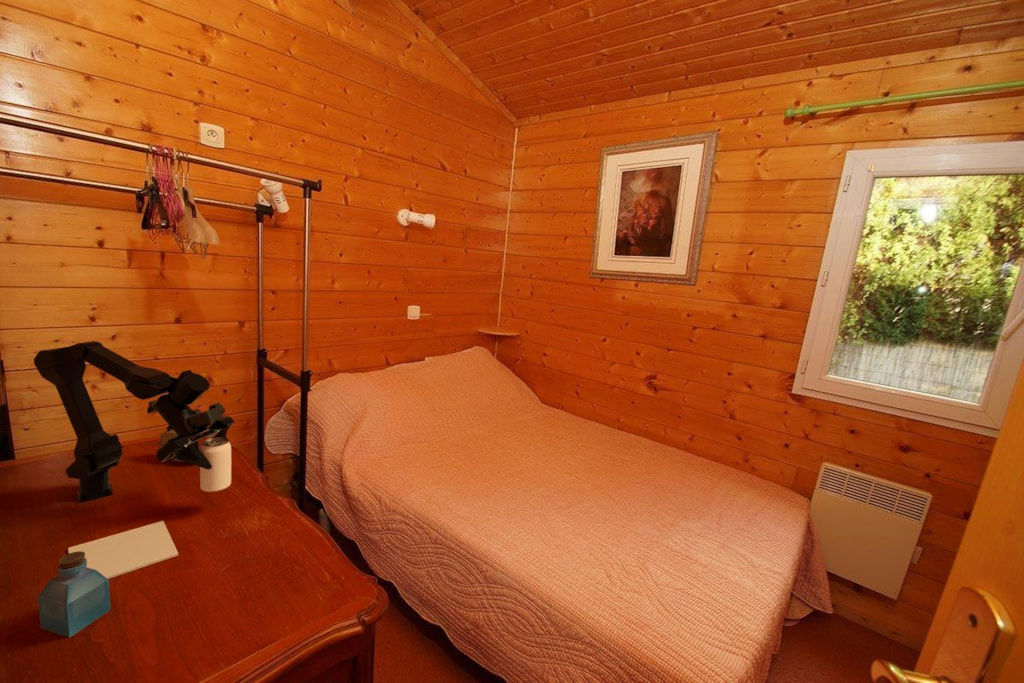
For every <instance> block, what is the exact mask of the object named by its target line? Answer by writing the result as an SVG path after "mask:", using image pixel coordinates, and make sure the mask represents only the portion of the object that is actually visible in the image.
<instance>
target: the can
mask: <svg viewBox="0 0 1024 683" xmlns="http://www.w3.org/2000/svg"><path fill="white" fill-rule="evenodd" d="M200 451H201V452H202V454H203V455H204V456H205V457H206V459H207V460H208V461H209V462H210V464H211V466H212V468H211V469H209V470H207V469H205V468H202V467H199V470H200V471H199V480H200V481H199V482H200V483H199V485H200V487H199V488H200V489H201V490H202V491H203V492H205V493H216V492H221V491H224V490H226V489H228V488H229V487H230V485H231V484H232V457H231V455H232V445H231V443H230V439H229V438H227V437H226V438H223V437H218V438H211V439H209V438H207V439H205V440H203V441H202V442H201V448H200Z"/></svg>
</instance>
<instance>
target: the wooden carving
mask: <svg viewBox="0 0 1024 683" xmlns="http://www.w3.org/2000/svg"><path fill="white" fill-rule="evenodd" d="M177 436H178V435H177V434H176V433H175V432H174V430H171V431H168V430H167V429H166V430H165V431H162V432H160V435H159V438H160V440H159V441H158V442H156V443H155V444H156V446H158V447H161V446H163V445H164V444H165V443H166V442H167V441H168V440H170V439H173V438H175V437H177ZM198 447H199V450H200V448H201V447H202V445H199V444H198ZM175 456H176V455H175V454H173V457H172V458H170V460H171V461H174V462H176V461H177V463H185V462H184V461H181V460H177V459H176V460H173V458H174V457H175Z"/></svg>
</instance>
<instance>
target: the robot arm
mask: <svg viewBox="0 0 1024 683" xmlns="http://www.w3.org/2000/svg"><path fill="white" fill-rule="evenodd" d="M86 363H88V364H89V365H90V366H93V367H95V368H97V369H98V370H100V371H103V373H106V374H108V375H110V376H111V377H113V378H115V379H117V380H119V381H121V382H122V383H123V384H124V388H125V389H126V391H128V392H129V393H130V394H131V395H132V396H134V397H136V398H137V399H138V400H141V401H143V400H148V399H152V398H155V397H157V399H155V400H151V401H149V402H148V406H147V410H146V413H147V414H152V413H154V412H156V413H158V415H159V416H160V417H161V418H162V419H163V420H164V421H165V423H166V424H167V425H168V426H167V427H166V428H165V429H166V431H167V430H168V431H171V430H174V432H175V433H176V434H177V435H178V436H177V437H175V438H173V439H170V440H168V441H167V442H166V443H165V444H164V445H163V446H159V448H158V449H157V450H156V458H157V460H159V461H160V462H161V463H163V462H165V461H167V460H169V459H170V458H172V457H173V454H175V455H176V456H175V457H174V458H173V460H176V459H177V460H181V461H184V462H183V463H189V464H192V465H194V466H197V467H199V468H200V467H202V468H205V469H207V470H209V469H211V468H212V466H211V464H210V462H209V461H208V460H207V459H206V457H205V456H204V455H203V454H202V452H201V451H200V450H199V447H198V445H199V441H200V440H202V439H204V438H207V439H211V438H218V437H223V438H227V432H228V431H229V430H230V427H231V426H233V425H234V424H235V422H236V421H235V420H234V419H233V418H232V417H231V416H229V415H225V416H224V414H225V413H226V409H225V407H224V405H222V404H221V402H216V403H213V404H210V405H209V406H208V409H207V410H205V411H201V410H200V409H198V408H195V409H192V408H191V406H190V405H192V404H194V403H195V402H196V401H197V400H198V399H200V397H202V396H203V395H204V394H205V393H206V392H207V391H208V390H209V389H210V385H211V384H210V381H209V380H208V378H206V377H205V376H203V375H201V374H199V373H195V372H193V371H192V370H191V369H187V370H183V371H182V372H181V373H180V374H179V375H178V376H177V377H175V376H171V375H170V374H169V373H167V371H162V370H160V369H157V368H152V367H145V366H141V365H138V364H136V363H135V362H133V361H131V360H129V359H127V358H126V357H124V356H122V355H120V354H118V353H117V352H114V351H113V350H111V349H109V348H107V347H105V346H104V345H103V343H101V342H100V341H95V340H92V341H91V340H90V341H84V342H77V343H75V344H72V345H68V346H62V347H56V348H49V349H42V350H39V351H38V352H37V353H36V355H35V357H34V358H33V364H34V366H35V368H36V370H37V372H38V373H39V374H40V376H41V377H42V378H43V379H45V380H46V381H48V382H49V383H51V384H52V385H53V386H55V388H56V390H57V392H58V395H59V398H60V400H61V403H62V405H63V407H64V410H65V413H66V414H67V417H68V419H69V421H70V424H71V426H72V429H73V431H74V433H75V436H76V439H77V440H76V443H75V446H74V449H73V455H74V459H75V461H72V463H70V465H68V467H67V468H66V469H65V473H66V475H67V477H68V478H69V479H74V480H75V479H76V480H78V487H79V489H78V490H77V491H76V495H77V500H78V501H77V502H80V503H82V502H84V501H85V502H86V501H90V500H94V499H97V498H98V499H99V498H102V497H107V496H110V495H111V496H112V495H113V494H114V489H113V487H112V484H111V482H110V469H111V468H114V467H118V466H119V463H120V460H121V457H122V456H123V448H124V446H123V445H122V444H121V442H120V439H119V438H120V437H119V435H117V434H112V435H111V434H109V433H108V432H106V431H105V430H104V428H103V426H102V423H101V421H100V418H99V415H98V413H97V410H96V409H95V406H94V403H93V401H92V399H91V396H90V393H89V392H88V390H87V387H86V384H85V382H84V379H83V378H84V375H85V372H86V369H87V364H86ZM158 396H160V397H158ZM232 457H233V454H231V458H232ZM170 460H171V459H170ZM173 460H172V461H173Z"/></svg>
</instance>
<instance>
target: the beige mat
mask: <svg viewBox="0 0 1024 683" xmlns="http://www.w3.org/2000/svg"><path fill="white" fill-rule="evenodd" d="M67 550H68V554H69V553H73V552H79V551H81V552H85V557H84V558H86V559H87V566H86V567H87V568H91V569H95V570H97V571H98V572H99V573H101V574H102V575H103V576H105V577H106V578H107V579H108V580H109V579H111V578H114V577H118V576H121V575H124V574H127V573H129V572H134V571H135V570H138V569H141V568H145V567H147V566H151V565H153V564H156V563H158V562H159V563H160V562H163V561H166V560H169V559H171V558H174V557H177V556H179V552H178V549H177V548H176V545H175V543H174V541H173V539H172V537H171V534H170V532H169V530H168V528H167V526H166V523H165V522H164V520H160V521H158V522H154V523H151V524H150V523H149V524H147V525H144V526H140V527H137V528H134V529H129V530H126V531H122V532H120V533H115V534H112V535H108V536H106V537H101V538H99V539H95V540H92V541H87V542H84V543H80V544H78V545H74V546H70V547H67Z"/></svg>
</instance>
